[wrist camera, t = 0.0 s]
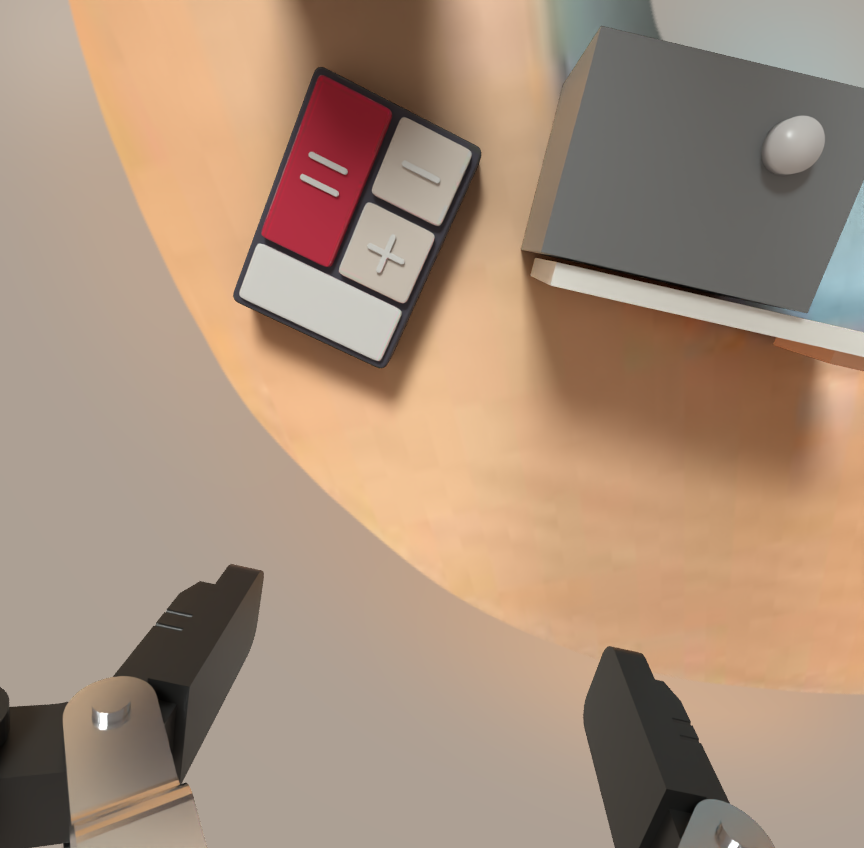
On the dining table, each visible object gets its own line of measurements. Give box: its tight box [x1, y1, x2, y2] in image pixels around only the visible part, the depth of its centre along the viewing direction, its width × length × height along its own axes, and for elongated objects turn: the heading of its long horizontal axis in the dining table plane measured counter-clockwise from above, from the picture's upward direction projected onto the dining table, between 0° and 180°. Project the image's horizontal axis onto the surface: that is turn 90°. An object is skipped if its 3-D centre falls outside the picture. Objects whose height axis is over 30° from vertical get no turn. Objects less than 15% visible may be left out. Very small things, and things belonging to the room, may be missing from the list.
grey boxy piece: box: [521, 26, 864, 313], centre depth 31 cm, size 10×14×11 cm
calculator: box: [233, 67, 481, 368], centre depth 37 cm, size 11×4×15 cm
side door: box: [530, 258, 864, 371], centre depth 34 cm, size 2×20×9 cm, turn 78°
